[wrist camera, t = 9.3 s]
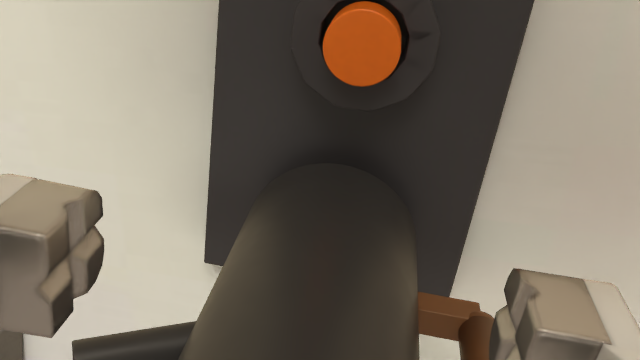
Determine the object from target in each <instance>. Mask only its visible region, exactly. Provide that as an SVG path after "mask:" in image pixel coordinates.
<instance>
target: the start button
mask: <svg viewBox="0 0 640 360" xmlns="http://www.w3.org/2000/svg"><path fill="white" fill-rule="evenodd" d="M323 55H324V59H325V62H326V64H327V66H328V68H329V69H330V71H331V72H332V73H333V74H334V75H335V76H336V77H337V78H338V79H340V80H341V81H343V82H345V83H347V84H349V85H353V86H360V87H363V86H371V85H375V84H377V83H379V82H381V81H383V80H384V79H386V78H387V77H388V76H389V75H390V74H391V73H392V72H393V71H394V69H395V68H396V66H397V64H398V62H399V59H400V55H401V30H400V26H399V24H398V21H397V20H396V18H395V16H394V15H393V14H392V13H391V12H390V11H389V10H388V9H387V8H385V7H384V6H382V5H380V4H378V3H375V2H370V1H359V2H355V3H352V4H349V5H347V6H345V7H344V8H342V9H341V10H340V11H339V12H338V13H337V14H336V15H335V17H334V18H333V20H332V21H331V23H330V25H329V27H328V29H327V31H326V33H325V36H324V40H323Z"/></svg>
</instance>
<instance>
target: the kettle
mask: <svg viewBox="0 0 640 360" xmlns="http://www.w3.org/2000/svg"><path fill="white" fill-rule="evenodd" d="M493 322H494V318H493V317H492V316H490V315H489V314H487V313H485V312H482V311H480V306H479V303H476V302H471V301H465V300H460V299H455V298H449V297H444V296H439V295H434V294H428V293H423V292H418V286H417V247H416V232H415V226H414V223H413V220H412V217H411V215H410V213H409V211H408V209H407V207H406V205H405V204H404V202H403V201H402V199H401V198H400V197H399V196H398V195H397V194H396V192H395V191H394V190H393V189H391V188H390V187H389V186H388V185H387V184H386V183H384V182H383V181H381V180H380V179H378V178H377V177H375V176H373V175H371V174H369V173H367V172H366V171H363V170H360V169H357V168H355V167H351V166H347V165H342V164H333V163H318V164H310V165H305V166H301V167H298V168H295V169H292V170H290V171H287V172H285V173H284V174H282V175H280V176H278V177H277V178H275V179H274V180H273V181H271V182H270V183H269V184H268V185H267V186H266V187H265V188H264V189H263V190H262V191H261V193H260V194H259V195H258V197H257V198H256V200H255V202H254V204H253V206H252V208H251V210H250V212H249V214H248V216H247V218H246V220H245V222H244V224H243V226H242V228H241V230H240V232H239V235H238V237H237V239H236V241H235V243H234V245H233V247H232V249H231V251H230V253H229V255H228V257H227V259H226V261H225V263H224V266H223V268H222V270H221V272H220V274H219V276H218V278H217V280H216V282H215V284H214V286H213V288H212V290H211V292H210V294H209V297H208V299H207V301H206V303H205V305H204V307H203V309H202V311H201V313H200V315H199V317H198V319H197V321H194V322H188V323H181V324H175V325H169V326H162V327H156V328H150V329H143V330H137V331H131V332H124V333H118V334H112V335H105V336H99V337H93V338H86V339H80V340H74V341H72V351H73V360H419V334H424V335H429V336H434V337H439V338H444V339H450V340H455V341H459V347H460V355H461V360H489V342H490V335H491V329H492V325H493Z"/></svg>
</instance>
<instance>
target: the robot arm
mask: <svg viewBox="0 0 640 360" xmlns="http://www.w3.org/2000/svg"><path fill="white" fill-rule="evenodd" d="M102 216H103V208H102V197H101V196H100V195H99V193H98V192H97V191H95V190H90V189H85V188H80V187H75V186H70V185H66V184H61V183H56V182H51V181H46V180H41V179H39V180H38V179H36V178H32V177H26V176H20V175H14V174H2V175H1V176H0V330H6V331H12V332H18V333H24V334H30V335H36V336H42V337H48V338H52V337H53V336H54V334H55V333H56V332H57V331H58V329H59V328H60V327H61V326H62V324H63V323H64V322H65V321H66V319H67V318H68V317H69V315H70V314H71V313H72V312H73V299H74V298H77V297H79V296H81V295H84V294H86V293H88V291H89V290H90V288H91V287H92V286H93V284H94V283H95V282H96V279H97V277H98V274H99V272H100V269H101V267H102V262H103V255H104V238H103V237H102V235H101V234H100V233H99V231H98V230H97V228H96V227H95V226H94V225H95V224H96V223H97V222H98V221H99V219H100V218H101V217H102ZM504 292H505V297H506V301H507V305H506V306H505V307H503V308H502V309H500V310H499V311H498V312H496V315H495V319H494V322H493V325H492V329H491V335H490V342H489V360H640V329H639V327H638V325H637V323H636V321H635V320H634V318H633V316H632V314H631V312H630V310H629V308H628V306H627V305H626V303H625V301H624V299H623V297H622V295H621V293H620V292H619V290H618V288H617V287H616V286H615V285H613V284H612V283H607V282H600V281H593V280H586V279H580V278H573V277H567V276H561V275H554V274H548V273H542V272H535V271H529V270H523V269H514V268H513V270H512V272H511V273H510V275H509V277H508V280H507V282H506V285H505V288H504Z"/></svg>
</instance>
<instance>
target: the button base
mask: <svg viewBox="0 0 640 360" xmlns="http://www.w3.org/2000/svg"><path fill="white" fill-rule="evenodd" d="M359 1H370V2H375V3H378V4H380V5H382V6H384V7H385V8H387V9H388V10H389V11H390V12H391V13H392V14H393V15H394V16H395V18H396V20H397V21H398V24H399V26H400V30H401V55H400V59H399V62H398V64H397V66H396V68H395V69H394V71H393V72H392V73H391V74H390V75H389V76H388V77H387V78H386V79H384V80H383V81H381V82H379V83H377V84H375V85H371V86H363V87H360V86H353V85H349V84H347V83H345V82H343V81H341V80H340V79H338V78H337V77H336V76H335V75H334V74H333V73H332V72H331V71H330V69H329V68H328V66H327V64H326V62H325V59H324V55H323V40H324V36H325V33H326V31H327V29H328V27H329V25H330V23H331V21H332V20H333V18H334V17H335V15H336V14H337V13H338V12H339V11H340V10H341V9H342V8H344V7H345V6H347V5H349V4H352V3H355V2H359ZM533 3H534V0H219V13H218V30H217V48H216V65H215V83H214V100H213V118H212V135H211V153H210V170H209V188H208V205H207V223H206V240H205V258H204V262H205V263H209V264H214V265H220V266H224V263H225V261H226V259H227V257H228V255H229V253H230V251H231V249H232V247H233V245H234V243H235V241H236V239H237V237H238V235H239V232H240V230H241V228H242V226H243V224H244V222H245V220H246V218H247V216H248V214H249V212H250V210H251V208H252V206H253V204H254V202H255V200H256V198H257V197H258V195H259V194H260V193H261V191H262V190H263V189H264V188H265V187H266V186H267V185H268V184H269V183H270V182H271V181H273V180H274V179H275V178H277V177H278V176H280V175H282V174H284V173H285V172H287V171H290V170H292V169H295V168H298V167H301V166H305V165H310V164H318V163H333V164H342V165H347V166H351V167H355V168H357V169H360V170H363V171H366V172H367V173H369V174H371V175H373V176H375V177H377V178H378V179H380V180H381V181H383V182H384V183H386V184H387V185H388V186H389V187H390V188H391V189H393V190H394V191H395V192H396V194H397V195H398V196H399V197H400V198H401V199H402V201H403V202H404V204H405V205H406V207H407V209H408V211H409V213H410V215H411V217H412V220H413V223H414V226H415V232H416V247H417V286H418V292H423V293H428V294H434V295H439V296H444V297H449V296H450V293H451V289H452V286H453V282H454V279H455V275H456V272H457V268H458V265H459V261H460V258H461V254H462V251H463V247H464V244H465V240H466V237H467V233H468V230H469V226H470V223H471V220H472V216H473V213H474V209H475V206H476V202H477V199H478V195H479V192H480V188H481V185H482V181H483V178H484V174H485V171H486V167H487V164H488V160H489V157H490V153H491V150H492V146H493V143H494V139H495V136H496V132H497V129H498V125H499V122H500V118H501V115H502V111H503V108H504V104H505V101H506V97H507V94H508V90H509V87H510V84H511V80H512V77H513V73H514V70H515V66H516V63H517V59H518V56H519V52H520V49H521V45H522V42H523V38H524V35H525V31H526V28H527V24H528V21H529V17H530V14H531V10H532V7H533Z"/></svg>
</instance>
